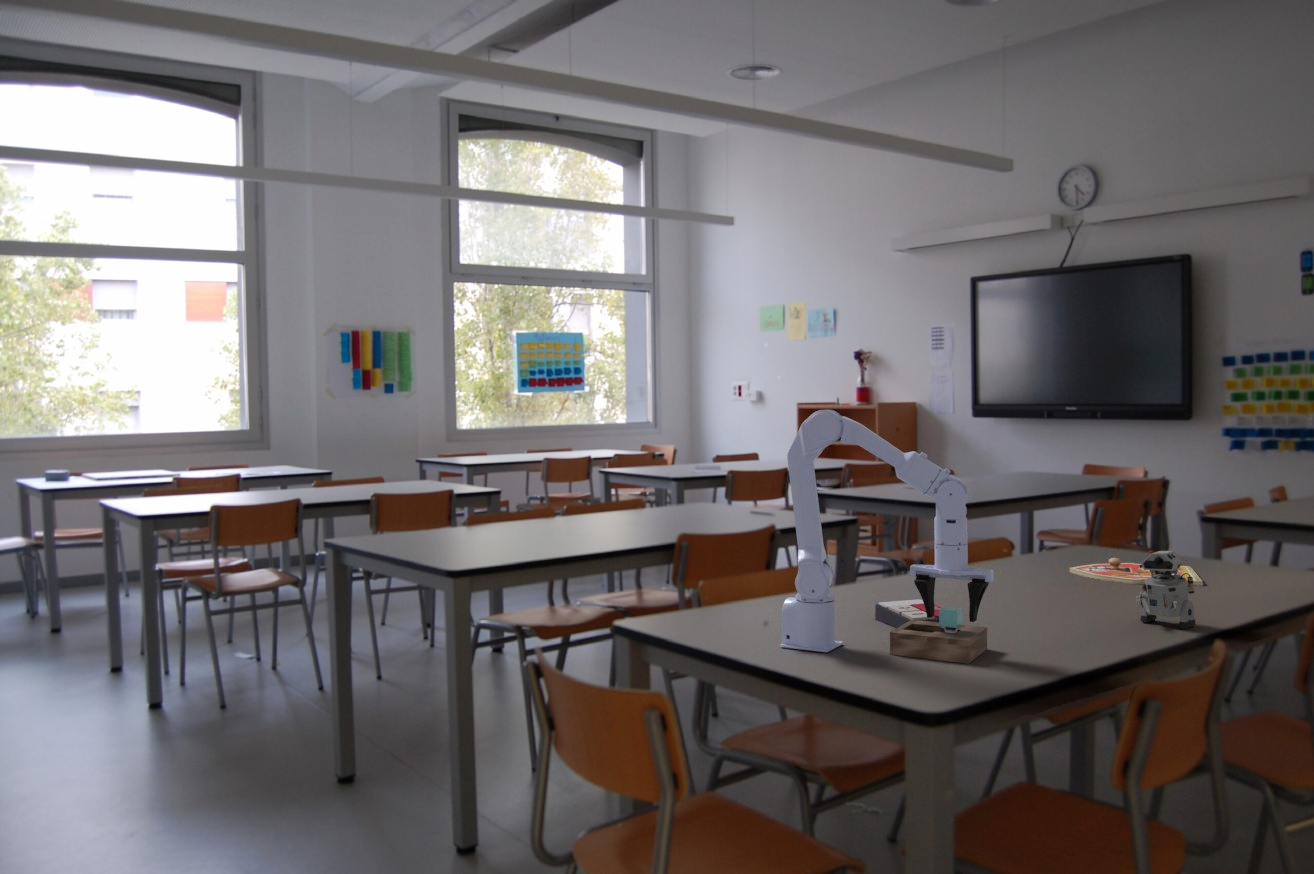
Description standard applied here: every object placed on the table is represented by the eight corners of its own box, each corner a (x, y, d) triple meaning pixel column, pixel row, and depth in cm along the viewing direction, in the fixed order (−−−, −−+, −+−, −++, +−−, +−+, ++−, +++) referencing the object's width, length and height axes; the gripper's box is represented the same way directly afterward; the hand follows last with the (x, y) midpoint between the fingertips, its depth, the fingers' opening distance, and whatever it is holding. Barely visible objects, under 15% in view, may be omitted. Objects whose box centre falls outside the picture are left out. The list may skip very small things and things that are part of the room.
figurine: (1125, 627, 201) (1125, 551, 201) (1154, 618, 208) (1154, 545, 208) (1172, 634, 194) (1172, 556, 194) (1200, 625, 201) (1200, 550, 201)
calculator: (912, 617, 198) (874, 600, 212) (912, 639, 198) (874, 620, 213) (961, 613, 201) (921, 596, 215) (961, 634, 201) (920, 616, 216)
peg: (936, 654, 182) (936, 609, 182) (943, 649, 186) (943, 605, 185) (959, 656, 180) (958, 611, 180) (965, 652, 183) (965, 607, 183)
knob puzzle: (1205, 589, 242) (1204, 570, 242) (1071, 583, 253) (1070, 565, 252) (1188, 570, 269) (1188, 553, 269) (1068, 565, 280) (1068, 549, 280)
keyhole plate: (890, 654, 183) (889, 632, 183) (912, 640, 193) (911, 619, 193) (968, 663, 175) (968, 640, 175) (987, 649, 185) (987, 627, 185)
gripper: (904, 543, 183) (904, 618, 184) (986, 548, 175) (986, 627, 176) (916, 539, 189) (917, 611, 190) (996, 543, 181) (997, 619, 182)
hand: (951, 618), depth 183 cm, fingers open, 7 cm apart
